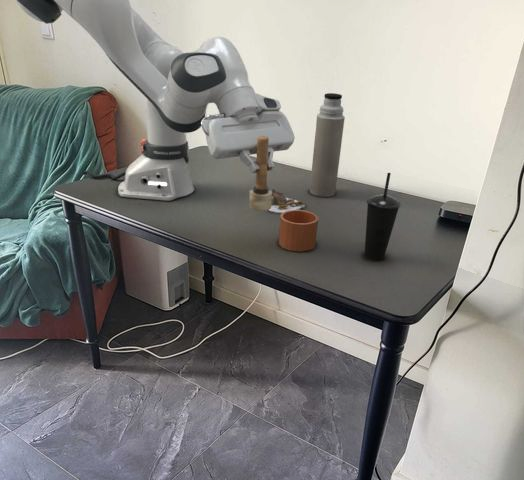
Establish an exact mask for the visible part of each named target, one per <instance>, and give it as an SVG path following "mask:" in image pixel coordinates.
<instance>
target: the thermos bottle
mask: <svg viewBox="0 0 524 480" xmlns="http://www.w3.org/2000/svg"><path fill="white" fill-rule="evenodd" d="M323 97H324V99H323V104H322V105H320V108H319V110H318V111H319V113H317V115H316V123H315V132H314V133H315V134H314V143H313V154H312V163H311V173H310V174H311V175H310V184H309V193H310V194H311V195H313V196H315V197H321V198H329V197H333V196H335V195H336V191H337V182H338V174H339V166H340V157H341V151H342V143H343V134H344V126H345V118H346V117H345V115H344V107H343V106H342V105H341V104H342V99H343V95H342V94H340V93H334V92H331V93H330V92H328V93H325V94H324V96H323Z"/></svg>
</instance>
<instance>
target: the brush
mask: <svg viewBox="0 0 524 480" xmlns="http://www.w3.org/2000/svg"><path fill="white" fill-rule="evenodd" d="M268 143H269V137H266V136H259V137H257V154H256V161H255V162H258V166H259V167H260V169H259V171H258V172H256V173H255V186H253V188H251V189H250V190H249V195H248V196H249V198H248V199H249V201H248V203H249V204H248V207H249V209H251V210H253V211H257V212H266V211H269V209H271V203H272V191H271V190H272V189H269V187H268V186H267V185H268V184H267V183H268V171H267V164H268Z"/></svg>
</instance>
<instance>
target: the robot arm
mask: <svg viewBox="0 0 524 480" xmlns="http://www.w3.org/2000/svg"><path fill="white" fill-rule="evenodd" d="M16 3H17V4H18V6H19V7H20V9H21V10H22V11H23V12H24V13H25V14H26V15H28V16H29V17H30V18H32V19H34V20H35V21H38V22H40V23H44V24H46V25H47V24H48V25H49V24H54V23H55V22H56V21H57V20H59V18H60V17H61V16H62V14H63V13H62V12H63V11H64V12H65V13H66V15H68V17H70V18H72V19H73V21H75V22H76V23H77V24H78V25H79V26H81V28H83V29H84V30H85V31H86V32H87V34H89V35H90V36H91V38H92V39H93V40H94V41H95V42H96V43H97V44H98V46H99V47H100V48H101V49H102V50H103V52H104V53H105V55H106V57H107V58H108V59H109V60H110V61H111V63H112V64H113V65H114V66H115V68H116V69H117V70H118V71H119V72H120V73H121V74H122V75H123V76H124V77H125V78H126V79H127V80H128V81H129V83H131V84H132V85H133V86H134V87H135V88H136V89H137V90H138V91H139V92H140V93H141V94H142V95H143V96H144V97H145V98H146V109H145V124H146V134H147V135H146V136H147V139H146V138H143V139H142V140H141V141H140V150H141V155H140V156H139V157H137V158H136V159H135V160H134V161H133V162H132V163H130V164H129V165H127V166H126V170H125V171H123V172H121V173H119V174H117V175H114V174H112V173H103V174H94V173H92V172H91V171H90V170H84V171H83V172H82V173H81V174H82V176H86V175H89V177H92V178H94V179H103V178H111V180H118V179H120V178H122V177H124V180H123V181H122V182H120V183H119V185H118V188H117V191H118V192H117V193H118V196H120V197H121V198H131V199H142V200H155V201H165V202H166V201H167V202H168V201H169V202H170V201H173V200H175V199H178V198H182V197H187V196H188V195H190V194H191V195H192V193H193V192H194V191H195V188H194V184H193V181H192V177H191V172H190V166H189V161H190V146H189V142H188V140H187V134H188V133H194V132H196V131H198V130H199V129H200V128H201V129H202V131H203V134H205V139H206V144H207V148H208V151H209V154H210V156H211V157H212V158H213V159H215V160H223V159H229V158H230V159H231V158H237V157H239V159H240V162H242V163H243V164H244V165H245V166H246V167H248V170H249V172H250V174H256V172H258V171H259V169H260V167H259V166H258V162H256V161H255V160H254V159H252V158H251V156H252V155H257V137H259V136H266V137H269V143H268V164H267V172H269V171H273V170H274V168H275V164H274V161H273V159H274V158H273V157H274V153H275V152H280V151H287V150H289V149H290V147H292V146H293V144H294V142H295V139H296V138H295V134H294V130H293V128H292V126H291V124H290V121H289V119H288V117H287V115H285V114H284V112H282V111H280V110H281V108H282V105H281V102H280V101H279V99H275V98H271V97H267V96H264V95H262V94H260V93H256V91H255V89H254V88H253V86H252V84H251V83H250V80H249V73H248V69H247V68H246V65H245V63H244V61H243V58H242V57H241V54H240V52H239V51H238V49H237V47H236V45H234V44H233V42H232V41H230V39H228V38H227V37H223V36H214V37H211V38H208V39H206V40H205V41H203V42H202V43H201V45H200V47H199V48H197V49H196V50H194V51H191V52H183V51H182V50H181V49H180V48H179V47H177V46H175V45H172V44H170V43H168V42H167V41H166V40H165V39H163V38H162V37H161V36H160V35H159V34H158V33H157V32H156V31H155V30H154V29H153V28H152V27H151V26H150V25H149V24H148V23H147V22H146V21H145V20H144V19H143V18H142V16H141V15H140V14H139V13H138V11H136V10H135V9H134V8H133V7H132V6H131V2H130V0H16ZM209 104H214V105H215V106H216V109H217V110H218V113H215V114H207V109H208V106H209Z"/></svg>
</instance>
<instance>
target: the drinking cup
mask: <svg viewBox="0 0 524 480" xmlns="http://www.w3.org/2000/svg"><path fill="white" fill-rule="evenodd" d="M386 174H387V175H386V180H385V184H384V185H385V186H384V191H383V194H376V195H372V196H369V197H368V198H367V199H366V204H367V207H366V208H367V210H366V225H365V238H364V253H363V255H364V256H363V257H365V258H366V259H367V260H371V261H382V260H384V259H385V255H386V253H387V249H388V247H389V242H390V239H391V235H392V232H393V229H394V226H395V222H396V219H397V215H398V211H399V209H400V207H401V205H402V202H401V201H400V200H399V199H397V198H395V197H394V196H391V195H388V190H389V184H390V179H391V174H392V173H391V172H387V173H386Z"/></svg>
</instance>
